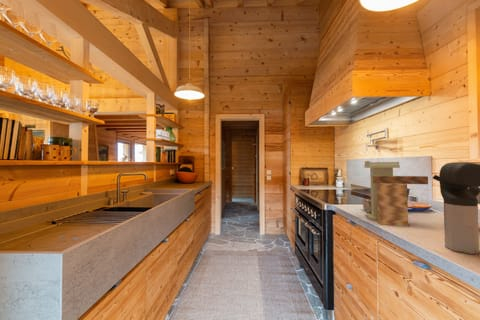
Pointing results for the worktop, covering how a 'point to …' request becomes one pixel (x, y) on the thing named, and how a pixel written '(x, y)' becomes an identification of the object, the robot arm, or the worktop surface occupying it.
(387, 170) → the t-shaped pedestal stand
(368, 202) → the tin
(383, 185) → the block
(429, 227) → the worktop surface
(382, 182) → the walnut rod
